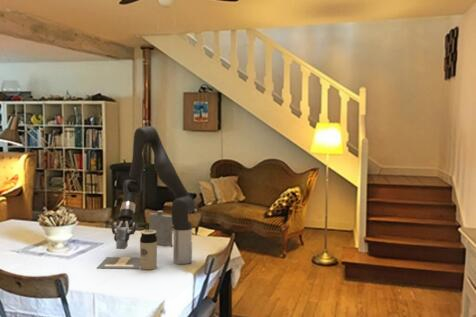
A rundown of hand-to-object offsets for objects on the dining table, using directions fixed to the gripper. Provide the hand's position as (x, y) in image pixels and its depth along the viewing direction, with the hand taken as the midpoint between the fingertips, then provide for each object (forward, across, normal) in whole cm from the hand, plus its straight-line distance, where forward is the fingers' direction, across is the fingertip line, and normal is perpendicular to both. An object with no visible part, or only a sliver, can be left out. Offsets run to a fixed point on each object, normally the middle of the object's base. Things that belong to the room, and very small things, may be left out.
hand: (121, 240), depth 214 cm
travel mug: (+12, +15, +5) cm, 20 cm away
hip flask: (-17, +13, +34) cm, 40 cm away
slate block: (+2, 0, +4) cm, 5 cm away
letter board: (+8, 0, +9) cm, 12 cm away
